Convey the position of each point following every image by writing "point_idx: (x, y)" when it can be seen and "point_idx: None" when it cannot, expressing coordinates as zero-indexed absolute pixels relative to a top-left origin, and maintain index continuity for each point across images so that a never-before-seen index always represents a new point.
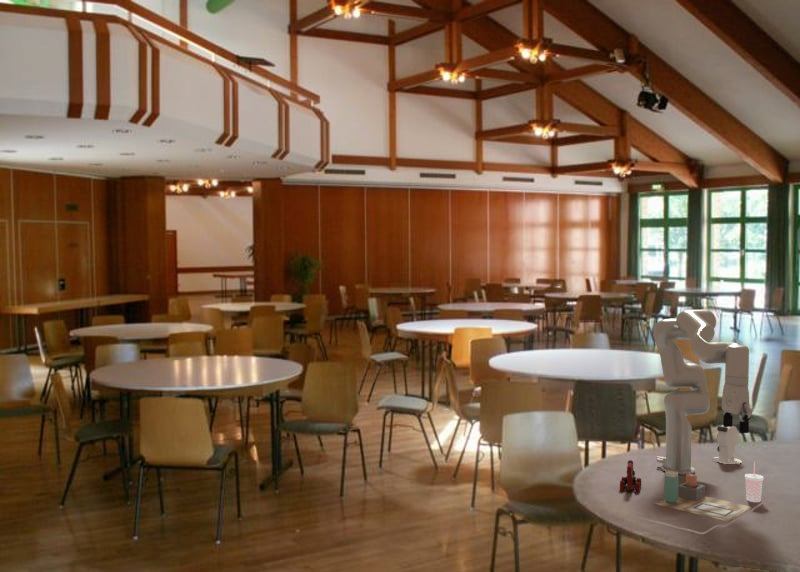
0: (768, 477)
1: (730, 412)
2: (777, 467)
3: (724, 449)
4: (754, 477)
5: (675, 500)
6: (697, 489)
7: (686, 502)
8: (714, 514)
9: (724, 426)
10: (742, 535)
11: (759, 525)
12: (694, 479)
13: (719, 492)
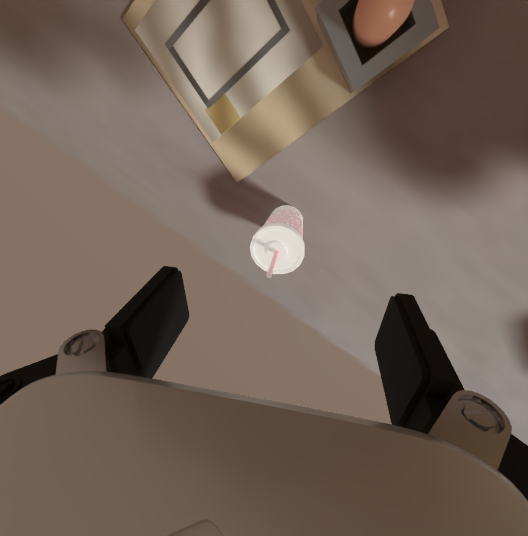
0: None
1: (183, 396)
2: None
3: None
4: (267, 245)
5: None
6: (320, 16)
7: None
8: (177, 6)
9: (396, 295)
10: (34, 4)
11: (120, 116)
12: (357, 10)
13: (384, 182)
